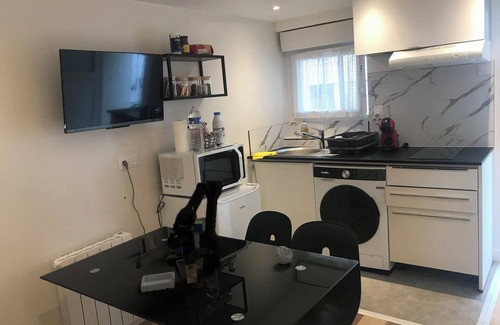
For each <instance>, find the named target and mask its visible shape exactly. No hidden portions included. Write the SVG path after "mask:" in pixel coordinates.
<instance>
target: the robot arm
mask: <svg viewBox="0 0 500 325" xmlns="http://www.w3.org/2000/svg"><path fill="white" fill-rule="evenodd" d="M223 188H224V184H223V182H222V181H221V180H220V179H206V180H205V181H201V182H197V183H196V186H195V189H194V191H193V193H192V194H191V197H190V198H189V200H188V202H187V203H186V205H185V206H184V207H182V208H181V209H180V210H179V212H177V213H176V216H175V219H174V223H173V224H174V226H173V225H172V231H171V232H170V233H169V236H168V238H167V240H166V245H167V246H168V248H169V249H170V250H173V251H176V250H175V249H177V248H179V247H181V246H182V254H181V256H177V254H176V253H175V254H169V255H167V257H166V264H167V265H166V266H168V267H170V268H173V269H174V270H176V271H175V272H176V273H177V274H178V277H179V279H180V280H182V272H181V268H180V263H179V262H183V265H184V266H186V265H189V264H195V265H196V263H197V261H199V260H201V276H202V277H203V276H204V274H205V269H206V268H207V269H209V268H217V267H220V266H222V263H221V257H220V254H221V253H222V252H223V249H224V246H223V245H222V244H221V243H220V242H219V236H218V233H217V232H216V226H217V213H218V201H219V199H220V196H222V193H223ZM204 197H205V198H206V206H205V207H206V208H205V217H204V218H205V230H204V232H203V233H202V234H200V239H199V246H200V249H201V252H202V253H200V252H199V251H196V246H195V237H194V229H195V228H196V226H194V223H195V221H196V218H198V214H197V211H198V209H200V208H199V207H200V205H201V203H202V202H203V199H204ZM178 226H186V227H178ZM173 231H174V232H173Z"/></svg>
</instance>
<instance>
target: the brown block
mask: <svg viewBox="0 0 500 325" xmlns="http://www.w3.org/2000/svg"><path fill="white" fill-rule="evenodd" d="M196 265H197V264H196V263H195V264H189V265H185V272H186V281H187V284H193V283H198V276H197V275H198V273H197V266H196Z"/></svg>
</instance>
